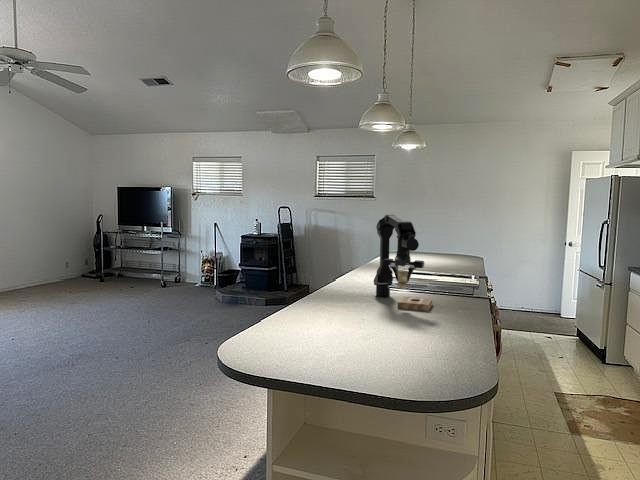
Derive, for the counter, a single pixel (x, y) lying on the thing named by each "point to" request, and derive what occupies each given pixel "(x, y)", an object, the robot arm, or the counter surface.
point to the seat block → (415, 303)
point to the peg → (402, 279)
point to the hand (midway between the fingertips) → (402, 281)
